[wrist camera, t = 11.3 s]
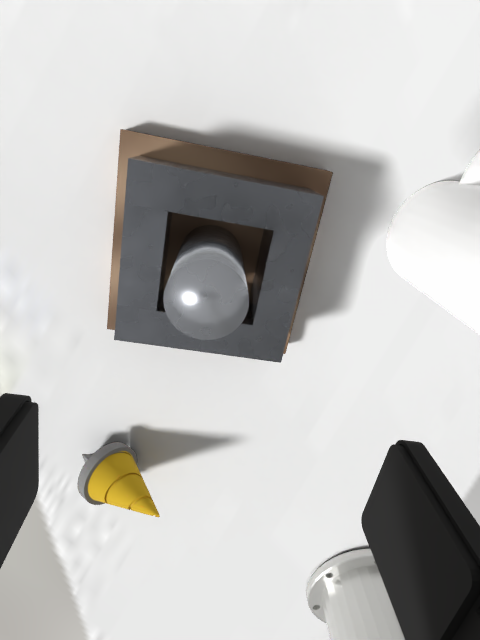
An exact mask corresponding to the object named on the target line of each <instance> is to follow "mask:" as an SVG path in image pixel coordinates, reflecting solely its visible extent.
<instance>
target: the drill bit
mask: <svg viewBox="0 0 480 640" xmlns="http://www.w3.org/2000/svg"><path fill="white" fill-rule="evenodd" d="M82 455H83V458H84V461H85V465H84V466H83V468H82V470H81V472H80V475H79V478H78V490H79V493H80V494H81V496H83V497H84V498H85V499H86V500H87V501H88V502H89V503H91V504H94V505H100V504H104V503H107V504H111V505H114V506H118V507H122V508H125V509H129V510H130V509H131V510H133V511H137V512H140V513H144V514H148V515H151V516H153V515H155V516H156V517H159V513H158V511H157V509H156V507H155V504H154V502H153V500H152V498H151V496H150V493H149V491H148V489H147V487H146V485H145V483H144V480H143V478H142V476H141V474H140V472H139V469H138V467H137V456H136V453H135V452H134V451H133V450H132V449H131V448H130V447H129V446H127V445H126V444H124V443H122V442H113V443H110V444H107V445H105V446H103V447H101V448H100V449H99V450H97V451H96V452H95V453H94V454H93V455H91V454H82Z"/></svg>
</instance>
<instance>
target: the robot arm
mask: <svg viewBox="0 0 480 640" xmlns="http://www.w3.org/2000/svg"><path fill="white" fill-rule="evenodd" d="M38 484H39V463H38V404H37V403H33V402H31V398H30V396H25V395H17V394H8V393H5V394H3V395H2V396H1V397H0V568H1V566H2V564H3V562H4V560H5V558H6V556H7V554H8V552H9V550H10V548H11V546H12V544H13V542H14V540H15V538H16V536H17V534H18V532H19V530H20V528H21V526H22V524H23V522H24V520H25V518H26V516H27V514H28V512H29V510H30V508H31V506H32V504H33V502H34V500H35V497H36V494H37V491H38ZM362 528H363V531H364V533H365V536H366V539H367V541H368V544H369V546H370V549H360V550H353V551H350V552H346V553H343V554H341V555H338V556H336V557H334V558H332V559H330V560H329V561H327V562H325V563H324V564H323V565H322V566H320V567H319V568H318V569H317V570H316V571H315V573H314V574H313V575H312V576H311V578H310V580H309V582H308V585H307V589H306V596H307V601H308V605H309V608H310V610H311V612H312V613H313V614H314V615H315V616H316V617H317V618H318V619H320V620H321V621H323V622H325V623H327V627H328V631H329V636H330V640H480V526H479V525H478V523H477V522H476V520H475V519H474V518H473V516H472V514H471V513H470V511H469V510H468V509H467V507H466V506H465V504H464V503H463V501H462V500H461V498H460V497H459V495H458V494H457V492H456V491H455V490H454V488H453V487H452V485H451V484H450V482H449V481H448V479H447V478H446V477H445V475H444V474H443V472H442V471H441V469H440V468H439V466H438V465H437V463H436V462H435V461H434V459H433V458H432V456H431V455H430V453H429V452H428V450H427V449H426V447H425V446H424V445H423V444H422V443H420V442H414V441H405V440H399V441H398V442H397V443H396V444H395V445H392V446H391V447H390V448H389V451H388V453H387V456H386V458H385V460H384V463H383V465H382V468H381V470H380V473H379V475H378V477H377V480H376V482H375V485H374V487H373V489H372V492H371V494H370V497H369V499H368V502H367V504H366V506H365V509H364V511H363V514H362Z"/></svg>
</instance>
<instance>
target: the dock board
mask: <svg viewBox="0 0 480 640" xmlns="http://www.w3.org/2000/svg"><path fill="white" fill-rule="evenodd" d="M139 155H141V156H146V157H151V158H156V159H161V160H166V161H171V162H176V163H182V164H187V165H192V166H197V167H202V168H207V169H212V170H217V171H223V172H228V173H233V174H238V175H243V176H248V177H253V178H258V179H264V180H269V181H274V182H279V183H284V184H289V185H294V186H299V187H304V188H310V189H311V190H313V191H315V192H317V193H319V194H321V195H323V196H324V198H323V202H322V206H321V210H320V213H319V217H318V221H317V225H316V229H315V233H314V236H313V240H312V244H311V248H310V252H309V256H308V260H307V263H306V267H305V271H304V275H303V279H302V283H301V287H300V290H299V294H298V298H297V302H296V306H295V310H294V313H293V317H292V321H291V325H290V329H289V333H288V337H287V340H286V344H285V348H284V352H283V354H285V353H286V349H287V345H288V341H289V338H290V334H291V330H292V326H293V322H294V319H295V315H296V311H297V307H298V303H299V300H300V296H301V292H302V288H303V284H304V280H305V277H306V273H307V269H308V265H309V261H310V258H311V254H312V250H313V246H314V242H315V239H316V235H317V231H318V227H319V223H320V219H321V216H322V212H323V208H324V204H325V200H326V197H327V193H328V189H329V185H330V181H331V177H332V174H333V172H330V171H327V170H322V169H317V168H312V167H307V166H302V165H297V164H292V163H287V162H282V161H277V160H273V159H268V158H263V157H258V156H253V155H248V154H243V153H238V152H233V151H228V150H223V149H218V148H213V147H208V146H203V145H198V144H193V143H189V142H184V141H179V140H174V139H169V138H164V137H159V136H154V135H149V134H144V133H139V132H134V131H129V130H123V129H121V130H120V145H119V160H118V175H117V189H116V204H115V219H114V234H113V249H112V263H111V278H110V293H109V308H108V322H107V329H112V330H115V323H116V310H117V297H118V284H119V271H120V257H121V244H122V231H123V218H124V205H125V192H126V179H127V165H128V158H131V157H135V156H139ZM204 225H216V226H220V227H222V228H225V229H226V230H228V231H229V232H231V233H232V234H233V235H234V236H235V238H236V239H237V241H238V243H239V245H240V248H241V253H242V259H243V265H244V271H245V276H246V282H247V288H248V294H249V297H250V292H251V287H252V283H253V278H254V273H255V268H256V264H257V259H258V254H259V249H260V245H261V240H262V235H263V230H264V229H262V228H257V227H251V226H246V225H240V224H234V223H229V222H223V221H218V220H212V219H206V218H201V217H195V216H190V215H184V214H179V213H173V212H172V220H171V229H170V237H169V245H168V253H167V262H166V270H165V278H164V286H163V290H165V287H166V284H167V282H168V279H169V277H170V274H171V271H172V269H173V266H174V263H175V261H176V258H177V255H178V253H179V250H180V247H181V245H182V242H183V240H184V239H185V237H186V236H187V235H188V234H189V233H190V232H191V231H192V230H194V229H196V228H198V227H200V226H204Z"/></svg>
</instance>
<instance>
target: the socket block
mask: <svg viewBox="0 0 480 640" xmlns="http://www.w3.org/2000/svg"><path fill="white" fill-rule="evenodd" d="M323 198H324V196H323V195H321V194H319V193H317V192H315V191H313V190H311V189H310V188H304V187H299V186H294V185H289V184H284V183H279V182H274V181H269V180H264V179H258V178H253V177H248V176H243V175H238V174H233V173H228V172H223V171H217V170H212V169H207V168H202V167H197V166H192V165H187V164H182V163H176V162H171V161H166V160H161V159H156V158H151V157H146V156H141V155H139V156H135V157H131V158H128V165H127V179H126V192H125V205H124V218H123V231H122V244H121V257H120V271H119V284H118V297H117V310H116V323H115V336H114V340H120V341H127V342H134V343H142V344H149V345H156V346H164V347H171V348H178V349H186V350H193V351H200V352H208V353H215V354H222V355H229V356H237V357H244V358H251V359H259V360H266V361H273V362H281V360H282V356H283V352H284V348H285V344H286V340H287V337H288V333H289V329H290V325H291V321H292V317H293V313H294V310H295V306H296V302H297V298H298V294H299V290H300V287H301V283H302V279H303V275H304V271H305V267H306V263H307V260H308V256H309V252H310V248H311V244H312V240H313V236H314V233H315V229H316V225H317V221H318V217H319V213H320V210H321V206H322V202H323ZM172 212H173V213H179V214H184V215H190V216H195V217H201V218H206V219H212V220H218V221H223V222H229V223H234V224H240V225H246V226H251V227H257V228H262V229H264V230H263V235H262V240H261V245H260V249H259V254H258V259H257V264H256V268H255V273H254V278H253V283H252V287H251V292H250V297H249V307H248V311H247V314H246V316H245V319H244V320H243V322H242V323H241V324H240V326H239V327H238V328H237V329H236V330H234V331H233V332H232V333H230V334H228V335H226V336H224V337H222V338H218V339H213V340H201V339H196V338H192V337H190V336H187V335H185V334H183V333H182V332H181V331H179V330H178V329H177V328H176V327H175V326H174V325H173V324H172V323H171V321H170V320H169V318H168V316H167V314H166V312H165V308H164V301H163V297H164V291H165V290H163V286H164V278H165V270H166V262H167V253H168V245H169V237H170V229H171V220H172Z"/></svg>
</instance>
